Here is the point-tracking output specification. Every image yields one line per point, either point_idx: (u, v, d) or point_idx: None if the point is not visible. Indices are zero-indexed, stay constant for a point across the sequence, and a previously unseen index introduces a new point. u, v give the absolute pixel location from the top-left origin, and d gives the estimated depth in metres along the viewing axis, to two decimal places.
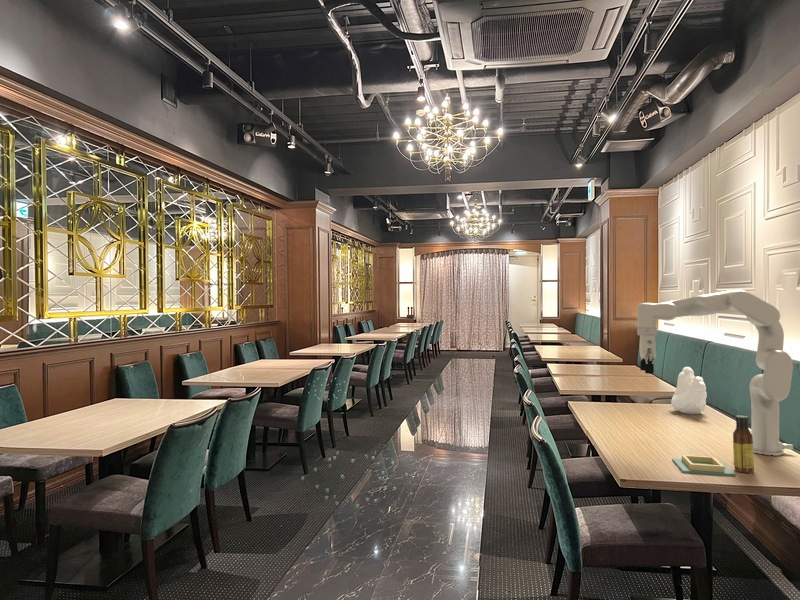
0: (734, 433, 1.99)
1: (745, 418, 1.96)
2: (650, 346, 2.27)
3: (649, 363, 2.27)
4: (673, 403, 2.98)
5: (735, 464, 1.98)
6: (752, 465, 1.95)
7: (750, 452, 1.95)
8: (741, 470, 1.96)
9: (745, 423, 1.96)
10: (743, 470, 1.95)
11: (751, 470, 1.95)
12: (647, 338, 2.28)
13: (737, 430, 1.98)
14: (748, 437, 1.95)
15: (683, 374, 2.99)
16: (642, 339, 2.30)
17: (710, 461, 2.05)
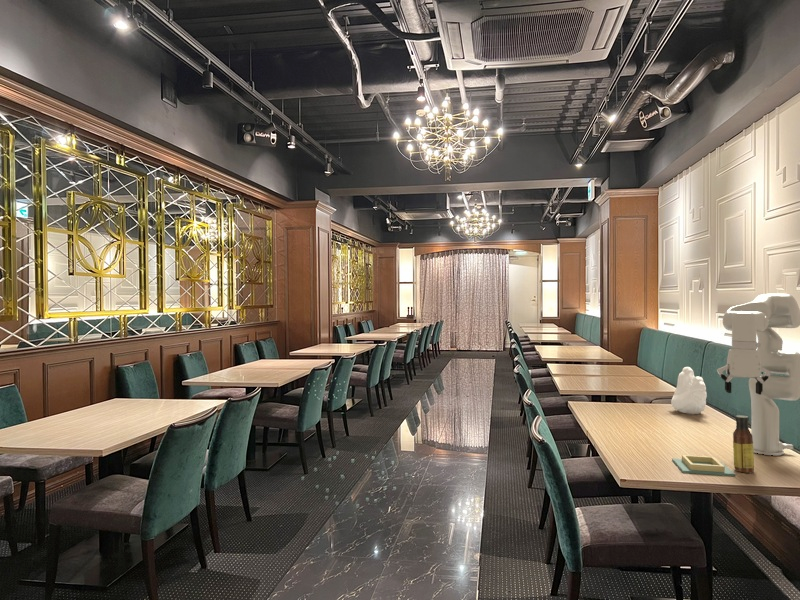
0: (734, 433, 1.99)
1: (745, 418, 1.96)
2: None
3: None
4: (673, 403, 2.98)
5: (735, 464, 1.98)
6: (752, 465, 1.95)
7: (750, 452, 1.95)
8: (741, 470, 1.96)
9: (745, 423, 1.96)
10: (743, 470, 1.95)
11: (751, 470, 1.95)
12: (758, 353, 1.96)
13: (737, 430, 1.98)
14: (748, 437, 1.95)
15: (683, 374, 2.99)
16: (754, 355, 1.95)
17: (710, 461, 2.05)
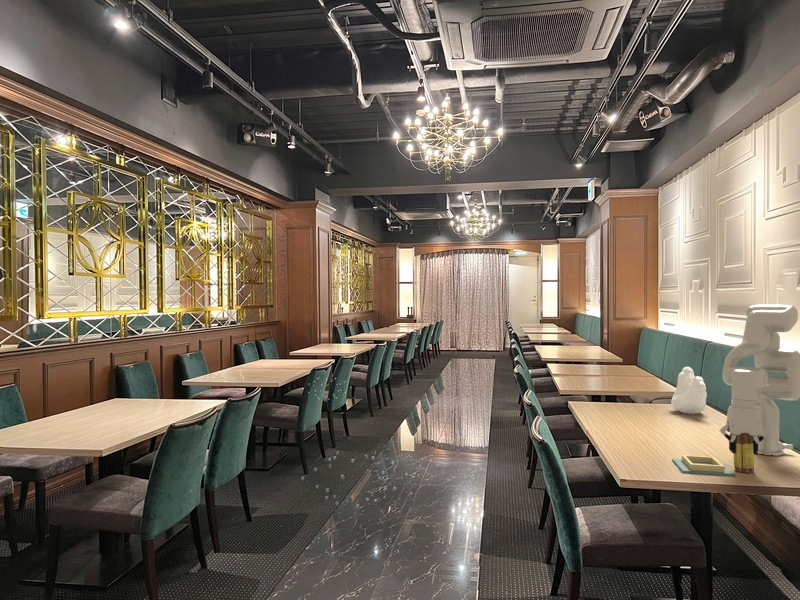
0: None
1: None
2: None
3: None
4: (673, 403, 2.98)
5: (735, 464, 1.98)
6: (752, 465, 1.95)
7: (750, 452, 1.95)
8: (741, 470, 1.96)
9: None
10: (743, 470, 1.95)
11: (751, 470, 1.95)
12: None
13: None
14: (748, 437, 1.95)
15: (683, 374, 2.99)
16: (754, 413, 1.95)
17: (710, 461, 2.05)
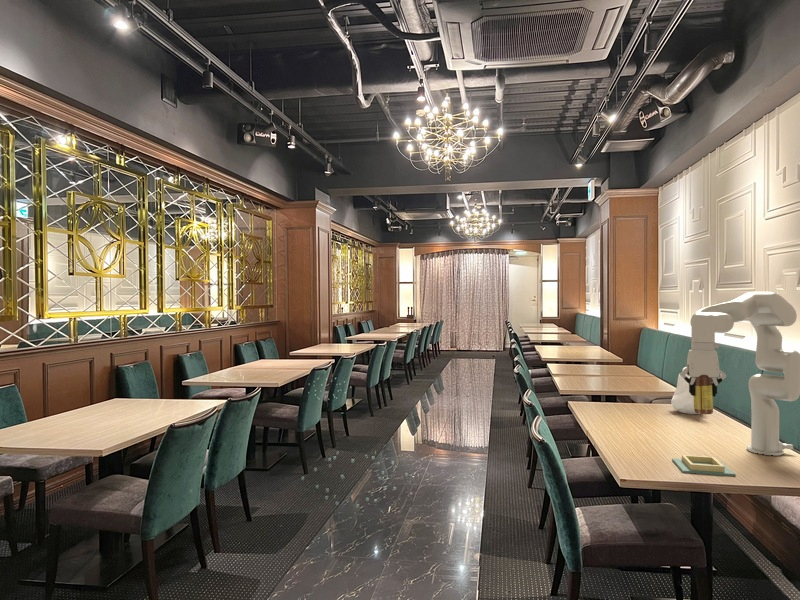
0: None
1: None
2: None
3: None
4: (673, 403, 2.98)
5: (695, 406, 2.01)
6: (711, 407, 1.98)
7: (709, 393, 1.98)
8: (700, 412, 1.99)
9: None
10: (702, 411, 1.98)
11: (710, 411, 1.98)
12: None
13: None
14: (707, 379, 1.98)
15: None
16: (713, 356, 1.98)
17: (710, 461, 2.05)
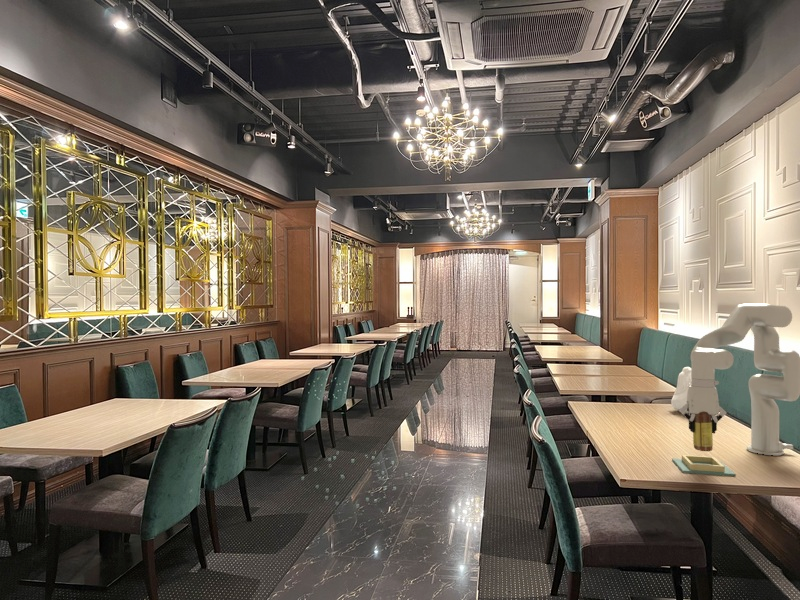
0: None
1: None
2: None
3: None
4: (673, 403, 2.98)
5: (694, 443, 2.01)
6: (710, 444, 1.98)
7: (708, 430, 1.98)
8: (700, 448, 1.99)
9: None
10: (702, 448, 1.98)
11: (709, 448, 1.98)
12: (716, 391, 1.99)
13: None
14: (707, 416, 1.98)
15: (683, 374, 2.99)
16: (712, 393, 1.98)
17: (710, 461, 2.05)
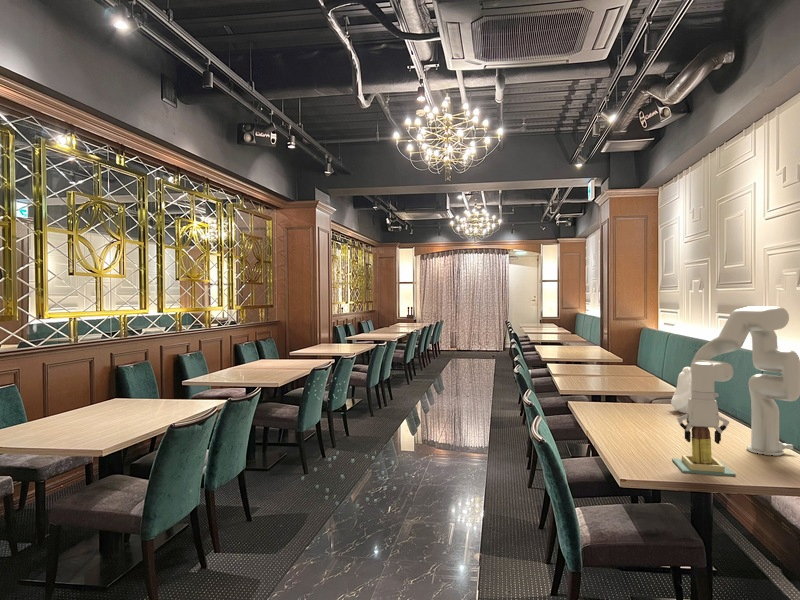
0: (692, 429, 2.02)
1: None
2: None
3: None
4: (673, 403, 2.98)
5: (693, 459, 2.01)
6: (710, 460, 1.98)
7: (707, 447, 1.98)
8: None
9: None
10: None
11: None
12: (716, 403, 1.99)
13: None
14: (705, 432, 1.98)
15: (683, 374, 2.99)
16: (712, 405, 1.98)
17: None
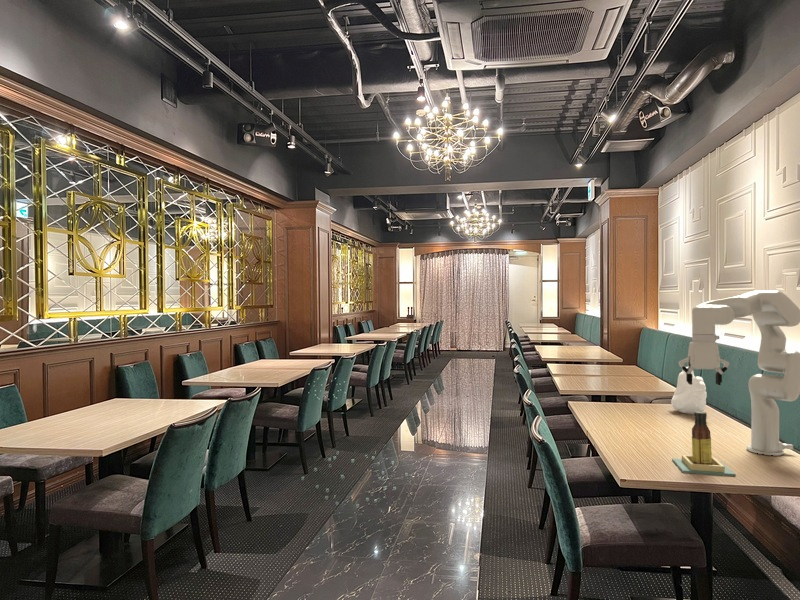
0: (693, 429, 2.02)
1: (703, 414, 1.99)
2: None
3: None
4: (673, 403, 2.98)
5: (693, 459, 2.01)
6: (710, 460, 1.98)
7: (707, 447, 1.98)
8: None
9: (703, 419, 1.99)
10: None
11: None
12: (717, 345, 2.03)
13: (695, 426, 2.01)
14: (706, 432, 1.98)
15: (683, 374, 2.99)
16: (713, 347, 2.02)
17: None
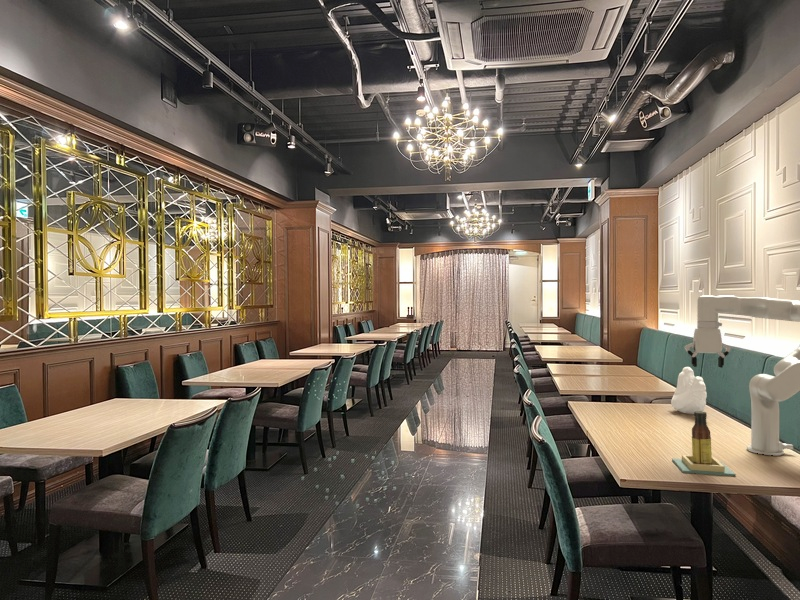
0: (693, 429, 2.02)
1: (703, 414, 1.99)
2: None
3: None
4: (673, 403, 2.98)
5: (693, 459, 2.01)
6: (710, 460, 1.98)
7: (707, 447, 1.98)
8: None
9: (703, 419, 1.99)
10: None
11: None
12: None
13: (695, 426, 2.01)
14: (706, 432, 1.98)
15: (683, 374, 2.99)
16: (716, 333, 2.22)
17: None
